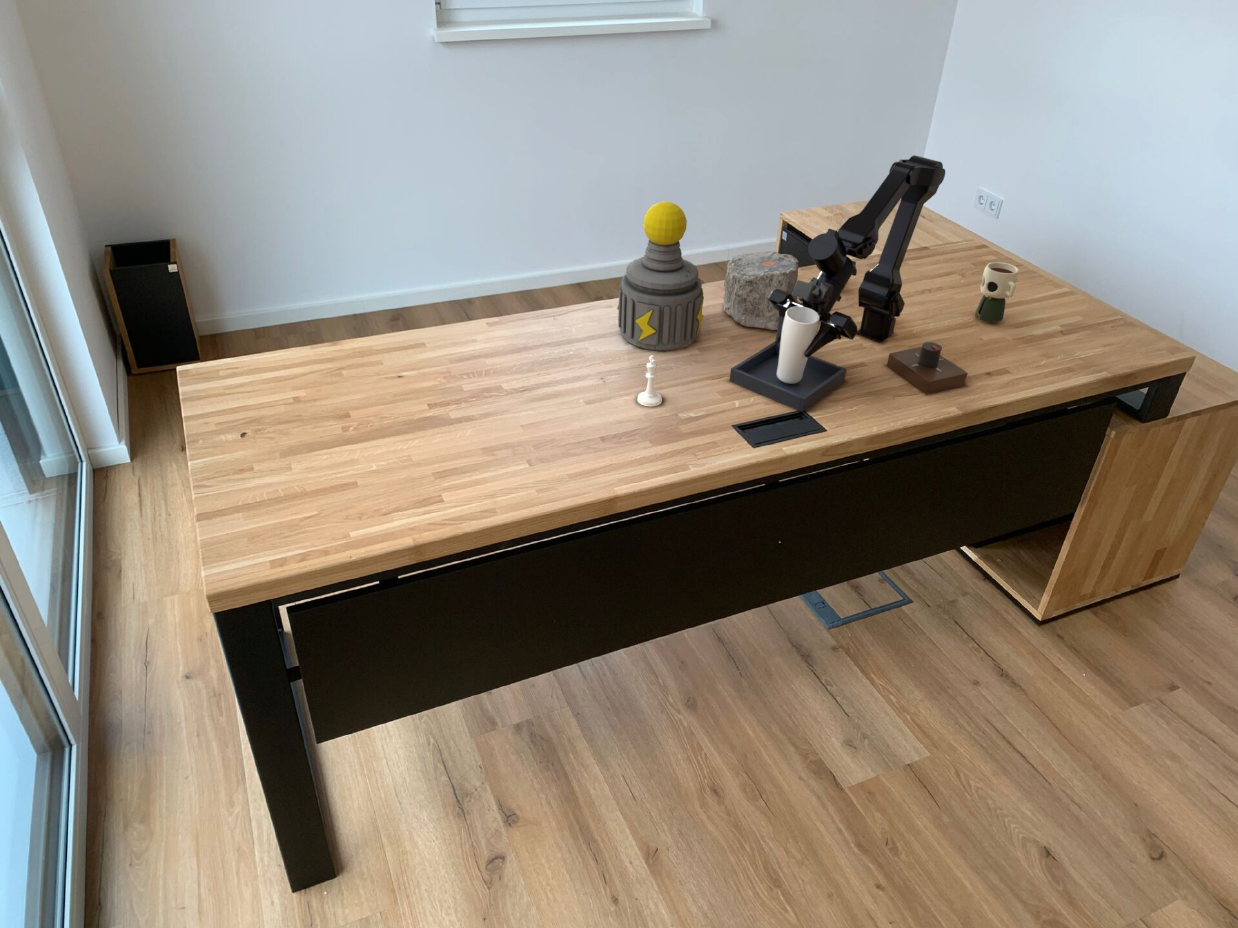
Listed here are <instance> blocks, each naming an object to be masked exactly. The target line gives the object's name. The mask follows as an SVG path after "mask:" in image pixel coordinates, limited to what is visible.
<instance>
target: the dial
mask: <svg viewBox="0 0 1238 928" xmlns="http://www.w3.org/2000/svg"><path fill="white" fill-rule="evenodd" d="M921 347H922V348H921V352H920V356H919V360H918V362H919V363H920V364H921V365H923V366H926V367H936V366H937V365H938V362H939V358H940V355H942V350H943V347H942V345H940V344H939V343H936V342H933V341H932V342H931V341H925V342H923V343H922V344H921Z"/></svg>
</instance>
